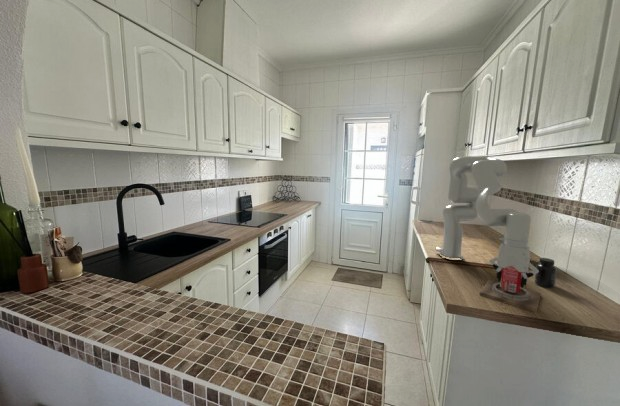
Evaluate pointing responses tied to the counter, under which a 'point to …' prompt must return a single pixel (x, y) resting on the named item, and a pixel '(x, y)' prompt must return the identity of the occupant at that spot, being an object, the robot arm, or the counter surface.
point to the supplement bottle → (546, 273)
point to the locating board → (513, 302)
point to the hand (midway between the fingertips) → (510, 282)
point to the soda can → (511, 279)
